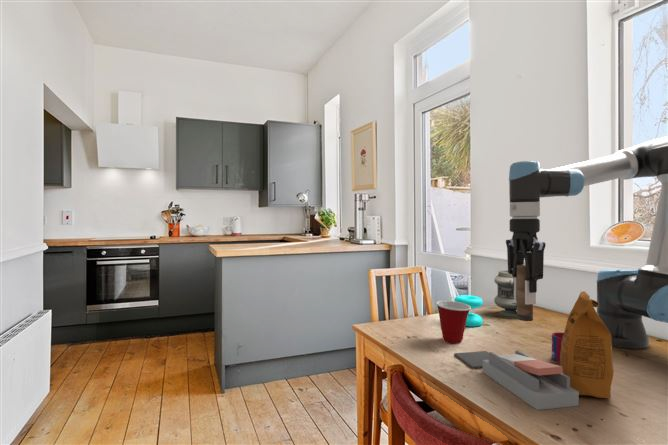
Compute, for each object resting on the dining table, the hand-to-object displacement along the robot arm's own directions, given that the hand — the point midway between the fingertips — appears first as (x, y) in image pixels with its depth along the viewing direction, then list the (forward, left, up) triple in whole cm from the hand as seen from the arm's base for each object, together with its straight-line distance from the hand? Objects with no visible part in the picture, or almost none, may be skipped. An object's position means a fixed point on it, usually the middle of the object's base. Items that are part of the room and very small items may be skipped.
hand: (524, 301), depth 107 cm
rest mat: (+12, -2, -16) cm, 21 cm away
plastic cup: (+11, -19, -17) cm, 28 cm away
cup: (-13, +3, -17) cm, 21 cm away
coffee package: (-2, +18, -17) cm, 25 cm away
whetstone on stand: (+11, +15, -16) cm, 25 cm away
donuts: (-4, -36, -17) cm, 40 cm away
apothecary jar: (-27, -44, -17) cm, 54 cm away
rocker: (+11, +15, -12) cm, 22 cm away
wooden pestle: (0, 0, -5) cm, 5 cm away
